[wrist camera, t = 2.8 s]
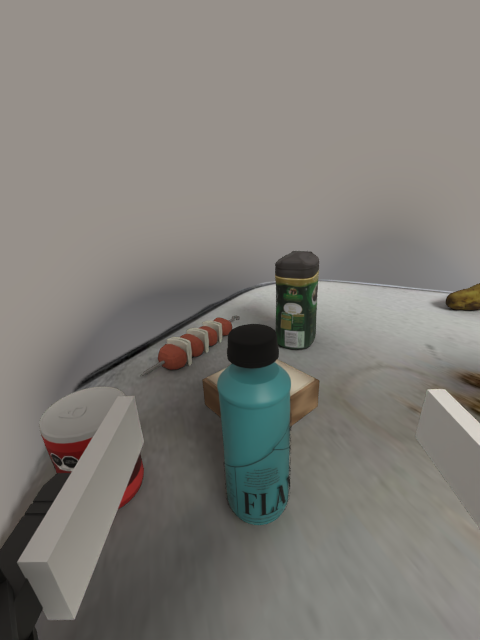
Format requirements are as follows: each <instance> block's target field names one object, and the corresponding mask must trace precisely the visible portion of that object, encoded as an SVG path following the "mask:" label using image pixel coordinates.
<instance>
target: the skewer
mask: <svg viewBox="0 0 480 640" xmlns="http://www.w3.org/2000/svg"><path fill="white" fill-rule="evenodd" d="M235 318H236V320H239V316H233V317H232V319H231V320H229V321H228V320H226V319H223V318H216V319H215V320H214V321H206V322H203V326H202V327H200V328H191V329H188V330H187V334H185V335H182V336H181V337H180V338H179V337H172V338H171V339H167V344H165V345H164V346H163V347H162V348H161V349H160V352H159V354H158V360H159V363H158V364H156V365H154V366H153V367H151V368H149V369H148V370H146V371H145V372H144V373H143V374H142V375H141V376H143V375H146V374H148V373H150V372H151V371H153V370H154V369H156V368H158V367H159V366H161V365H162V366H163V367H165V368H167V369H170V370H173V369H179V368H181V367H184V366H185V364H187V365H188V366H190V365H191V364H192V356H193V357H197V356H199V355H201V354H202V352H203V351H204V352H205V353H207V352H208V351H209V346H213V345H215V344H216V343H217V341H218V342H219V343H220V342H221V341H222V336H225V335H228V334H229V332H230V331H231V330H232V324H231V322H233V321H234V320H235Z"/></svg>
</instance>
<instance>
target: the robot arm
mask: <svg viewBox="0 0 480 640" xmlns="http://www.w3.org/2000/svg"><path fill="white" fill-rule="evenodd" d="M415 438H416V439H417V440H418V442H419V443H420V445H421V446H422V448H423V449H424V450H425V452H426V453H427V455H428V456H429V457H430V459H431V460H432V462H433V463H434V465H435V466H436V467H437V469H438V470H439V472H440V473H441V475H442V476H443V477H444V479H445V480H446V482H447V483H448V484H449V486H450V487H451V489H452V490H453V492H454V493H455V494H456V496H457V497H458V499H459V500H460V502H461V503H462V504H463V506H464V507H465V509H466V510H467V512H468V513H469V514H470V516H471V517H472V519H473V520H474V521H475V523H476V524H477V526H478V527H479V529H480V423H479V422H478V421H477V420H476V419H475V418H474V417H473V416H472V415H471V414H470V413H469V412H468V411H467V410H466V409H465V408H463V407H462V406H461V405H460V404H459V403H458V402H457V401H456V400H455V399H454V398H453V397H452V396H451V395H450V394H449V393H448V392H447V391H446V390H445V389H427V392H426V396H425V400H424V404H423V408H422V411H421V415H420V419H419V423H418V427H417V431H416V435H415ZM143 444H144V439H143V435H142V430H141V425H140V420H139V415H138V411H137V406H136V401H135V396H118V397H117V398H116V400H115V402H114V403H113V405H112V407H111V408H110V410H109V412H108V413H107V415H106V416H105V418H104V420H103V421H102V423H101V425H100V426H99V428H98V430H97V431H96V433H95V435H94V436H93V438H92V440H91V441H90V443H89V444H88V446H87V448H86V449H85V451H84V453H83V454H82V456H81V458H80V459H79V461H78V463H77V464H76V466H75V467H74V469H73V471H72V472H71V473H57V474H56V475H55V476H54V477H53V478H52V479H50V480H49V481H48V482H47V483H46V484H45V485H44V486H43V487H42V489H41V490H40V492H39V493H38V495H37V496H36V498H35V499H34V501H33V504H31V505H30V506H29V508H28V509H27V511H26V512H25V516H24V517H22V518H21V520H20V521H19V523H18V524H17V526H16V527H15V529H14V530H13V532H12V533H11V535H10V536H9V538H8V539H7V541H6V542H5V544H4V545H3V546H2V548H1V549H0V640H38V636H37V631H36V629H35V624H36V622H37V620H38V618H39V615H40V613H41V611H42V610H43V612H44V613H45V615H46V617H47V619H48V620H75V617H76V615H77V612H78V610H79V607H80V604H81V602H82V599H83V597H84V594H85V592H86V589H87V587H88V584H89V581H90V579H91V576H92V574H93V571H94V569H95V566H96V564H97V561H98V558H99V556H100V553H101V551H102V548H103V546H104V543H105V541H106V538H107V536H108V533H109V530H110V528H111V525H112V523H113V520H114V518H115V515H116V513H117V510H118V507H119V505H120V502H121V500H122V497H123V495H124V492H125V490H126V487H127V484H128V482H129V479H130V477H131V474H132V472H133V469H134V467H135V464H136V461H137V459H138V456H139V454H140V451H141V449H142V446H143Z"/></svg>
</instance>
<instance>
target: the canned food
mask: <svg viewBox="0 0 480 640" xmlns="http://www.w3.org/2000/svg"><path fill="white" fill-rule="evenodd" d="M118 396H125V394H124V393H123V392H122V391H121V390H119V389H116V388H113V387H93V388H87V389H83V390H80V391H77V392H74V393H72V394H70V395H67V396H65V397H63V398H62V399H60V400H58V401H57V402H55V403H54V404H53V405H51V406H50V407H49V408H48V409H47V410H46V411H45V412H44V414H43V415H42V417H41V419H40V422H39V427H40V432H41V435H42V438H43V440H44V443H45V446H46V448H47V451H48V453H49V456H50V458H51V460H52V463H53V465H54V468H55V470H56V472H57V473H71V472H72V471H73V469H74V467H75V466H76V464H77V463H78V461H79V459H80V458H81V456H82V454H83V453H84V451H85V449H86V448H87V446H88V444H89V443H90V441H91V440H92V438H93V436H94V435H95V433H96V431H97V430H98V428H99V426H100V425H101V423H102V421H103V420H104V418H105V416H106V415H107V413H108V412H109V410H110V408H111V407H112V405H113V403H114V402H115V400H116V398H117V397H118ZM143 474H144V468H143V464H142V459H141V455H140V454H139V456H138V459H137V461H136V464H135V467H134V469H133V472H132V474H131V477H130V479H129V482H128V484H127V487H126V490H125V492H124V495H123V497H122V500H121V502H120V505H119V507H118V509H119V508H121V507H123V506H124V505H125V504H126V503H128V502H129V501H130V500H131V499H132V498H133V497H134V496H135V494H136V493H137V492H138V490H139V488H140V486H141V483H142V479H143Z"/></svg>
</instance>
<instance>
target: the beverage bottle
mask: <svg viewBox="0 0 480 640" xmlns="http://www.w3.org/2000/svg"><path fill="white" fill-rule="evenodd" d="M278 356H279V349H278V343H277V334H276V332H275V330H274V329H272V328H271V327H268V326H265V325H260V324H248V325H242V326H239V327H236V328H234V329H232V330H231V331H230V332H229V334H228V348H227V357H228V360H229V361H230V362H231V363H232V364H231V365H230V366H228V367H227V368H226V369H225V370H224V371H223V372H222V373H221V374H220V376H219V378H218V381H217V389H218V392H219V401H220V411H221V422H222V432H223V443H224V459H225V469H224V471H226V481H225V483H226V484H227V493H226V495H227V497H228V501H229V504H230V506H231V508H232V511H233V512H234V513H235V514H236V515H237V516H238V517H239V518H240V519H241V520H243V521H245V522H247V523H250V524H254V525H264V524H268V523H270V522H272V521H274V520H276V519H277V518H278V517H279V516H280V515H281V514H282V512H283V511H284V510H285V506H286V504H287V502H288V496H290V495H288V492H289V490H288V485H289V487H290V479H289V470H290V469H291V468H290V469H289V467H290V465H291V464H290V463H289V455H290V454H289V452H290V450H291V448H290V447H289V444H290V443H289V439H290V428H291V427H292V425H291V424H290V422H292V420H291V421H290V418H292V417H291V416H292V414H291V415H290V400H291V399H290V390H291V379H290V376H289V374H288V373H287V372H286V371H285V370H284V369H283V368H282V367H281V366H279V365H278V364H277V363H275V361H276V360H277V359H278ZM291 401H292V400H291ZM290 425H291V427H290ZM290 442H291V441H290ZM290 446H291V445H290ZM289 449H290V450H289ZM290 460H291V459H290ZM289 464H290V465H289ZM288 483H289V484H288ZM289 489H290V488H289ZM287 505H288V504H287ZM286 507H287V506H286Z"/></svg>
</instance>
